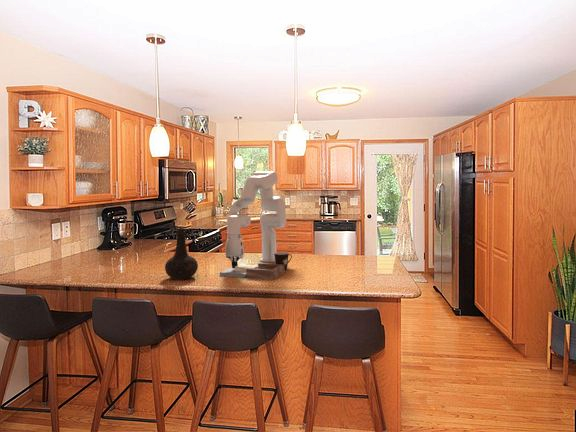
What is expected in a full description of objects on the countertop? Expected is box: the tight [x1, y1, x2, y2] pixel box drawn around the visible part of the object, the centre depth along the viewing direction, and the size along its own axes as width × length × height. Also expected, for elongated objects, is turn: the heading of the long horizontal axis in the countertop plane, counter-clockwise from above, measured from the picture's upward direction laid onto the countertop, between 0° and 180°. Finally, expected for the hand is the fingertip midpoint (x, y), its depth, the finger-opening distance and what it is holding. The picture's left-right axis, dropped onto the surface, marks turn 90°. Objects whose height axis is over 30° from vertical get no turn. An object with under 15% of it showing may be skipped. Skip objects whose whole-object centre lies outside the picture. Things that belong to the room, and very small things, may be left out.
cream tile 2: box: [244, 264, 258, 272], centre depth 260 cm, size 6×6×2 cm
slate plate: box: [219, 266, 246, 279], centre depth 263 cm, size 18×16×2 cm
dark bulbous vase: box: [164, 227, 199, 280], centre depth 252 cm, size 18×18×28 cm
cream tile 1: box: [235, 264, 249, 272], centre depth 262 cm, size 6×6×2 cm
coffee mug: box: [274, 251, 293, 272], centre depth 271 cm, size 12×9×10 cm
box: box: [245, 262, 285, 281], centre depth 257 cm, size 17×16×5 cm
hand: (234, 268), depth 264 cm, fingers closed
